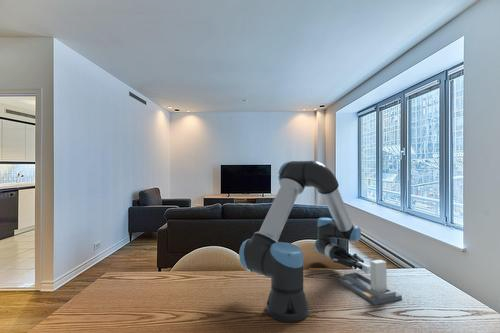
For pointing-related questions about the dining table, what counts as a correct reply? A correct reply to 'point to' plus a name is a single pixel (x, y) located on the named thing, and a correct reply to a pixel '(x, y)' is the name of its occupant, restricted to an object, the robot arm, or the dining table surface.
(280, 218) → the robot arm
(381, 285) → the switch tab
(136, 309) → the dining table surface
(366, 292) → the switch board
